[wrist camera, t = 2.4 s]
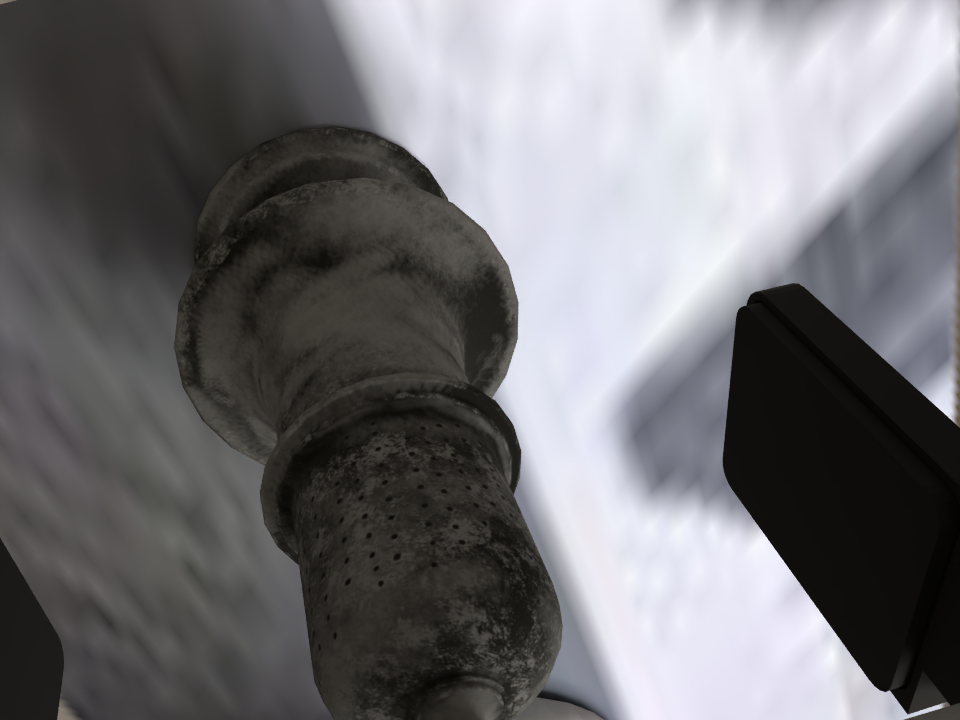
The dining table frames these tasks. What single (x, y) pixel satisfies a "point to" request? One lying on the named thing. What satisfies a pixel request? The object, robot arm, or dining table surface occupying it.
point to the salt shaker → (374, 421)
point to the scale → (5, 1)
